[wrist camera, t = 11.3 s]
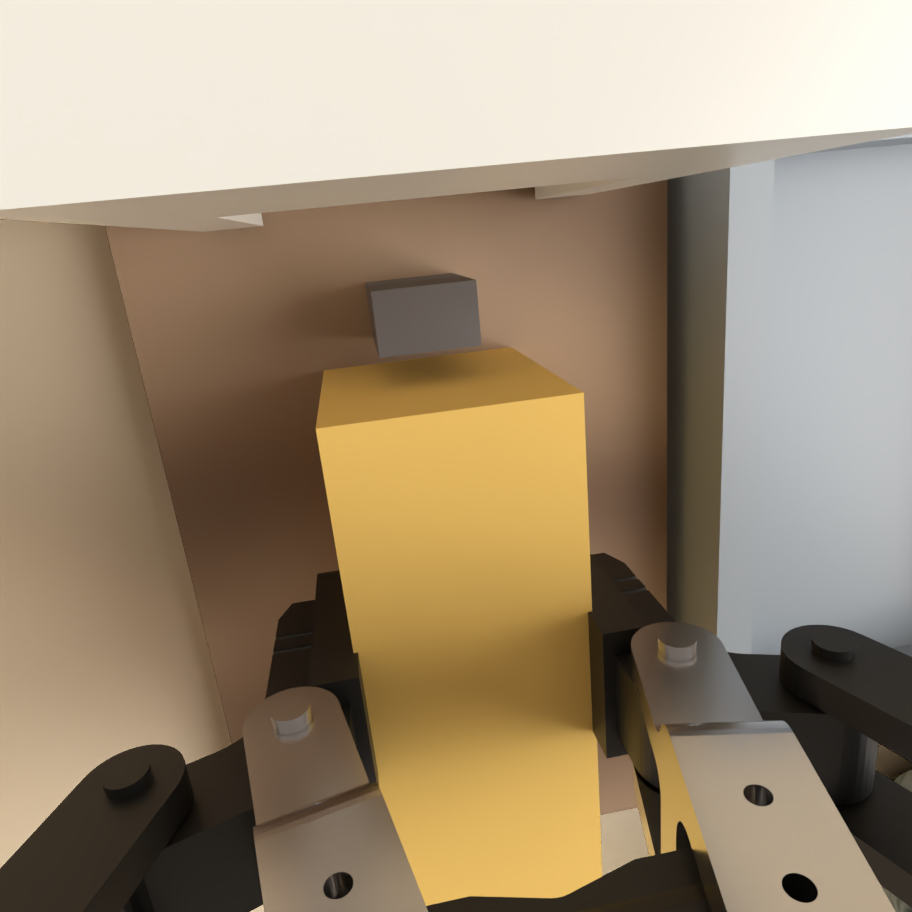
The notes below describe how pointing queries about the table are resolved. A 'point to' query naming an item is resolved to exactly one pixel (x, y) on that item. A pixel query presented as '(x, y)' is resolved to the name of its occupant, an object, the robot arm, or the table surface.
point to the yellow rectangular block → (471, 613)
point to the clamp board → (380, 341)
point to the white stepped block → (420, 99)
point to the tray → (791, 396)
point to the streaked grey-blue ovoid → (908, 781)
